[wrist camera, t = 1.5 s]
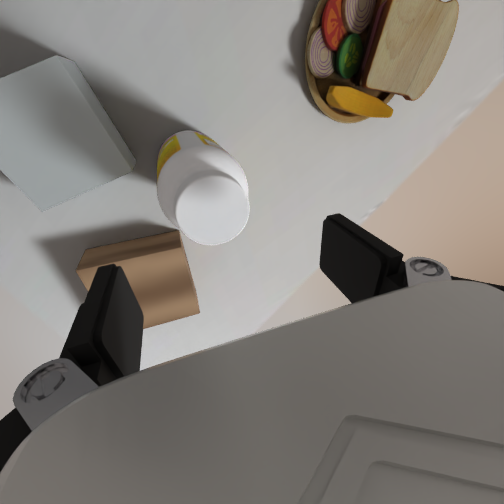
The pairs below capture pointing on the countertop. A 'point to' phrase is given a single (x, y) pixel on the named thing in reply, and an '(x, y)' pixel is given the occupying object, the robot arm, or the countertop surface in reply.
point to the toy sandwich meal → (375, 53)
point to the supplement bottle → (201, 188)
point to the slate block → (57, 134)
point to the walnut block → (149, 275)
